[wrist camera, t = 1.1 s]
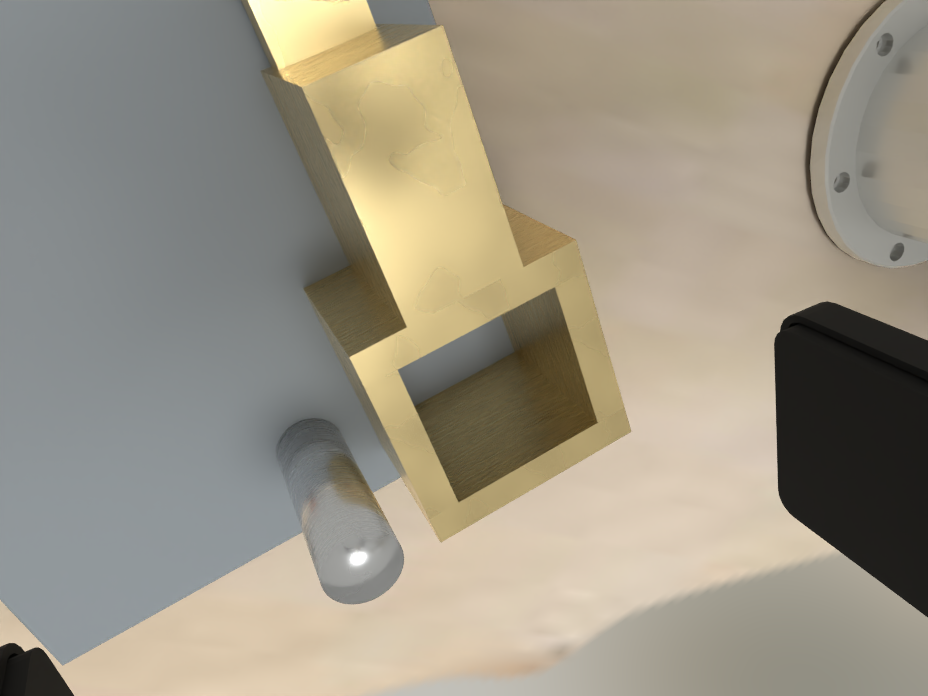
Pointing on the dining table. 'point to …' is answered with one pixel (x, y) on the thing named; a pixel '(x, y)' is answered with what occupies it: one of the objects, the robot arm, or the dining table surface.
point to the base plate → (160, 310)
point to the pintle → (338, 513)
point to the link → (435, 263)
